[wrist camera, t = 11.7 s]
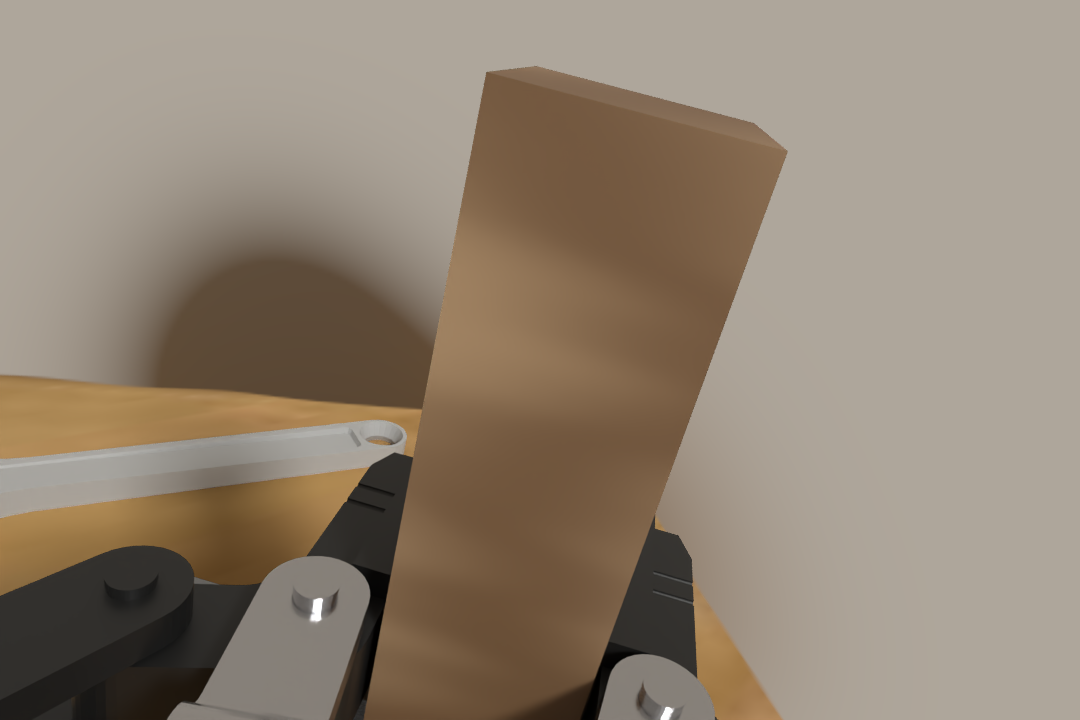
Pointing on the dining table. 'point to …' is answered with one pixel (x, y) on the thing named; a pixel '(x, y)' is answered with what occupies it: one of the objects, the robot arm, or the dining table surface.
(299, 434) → the adjustable wrench
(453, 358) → the wooden post on base
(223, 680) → the robot arm
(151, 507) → the dining table surface
